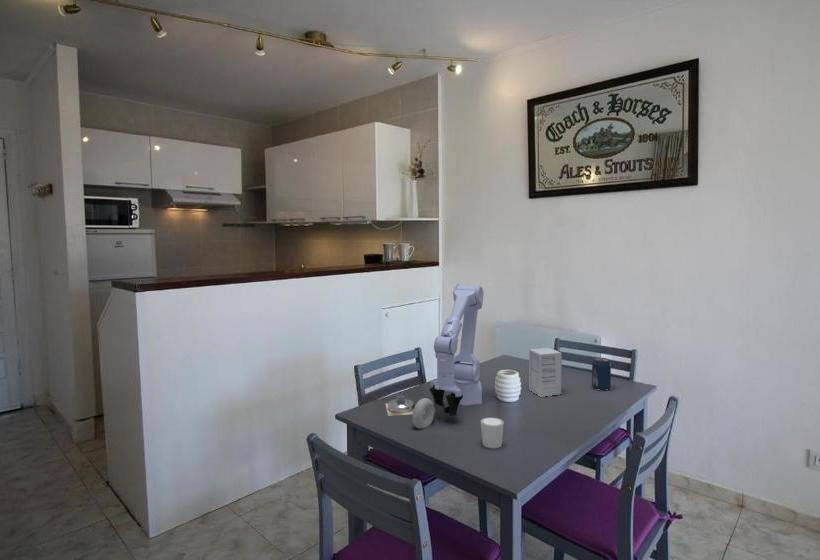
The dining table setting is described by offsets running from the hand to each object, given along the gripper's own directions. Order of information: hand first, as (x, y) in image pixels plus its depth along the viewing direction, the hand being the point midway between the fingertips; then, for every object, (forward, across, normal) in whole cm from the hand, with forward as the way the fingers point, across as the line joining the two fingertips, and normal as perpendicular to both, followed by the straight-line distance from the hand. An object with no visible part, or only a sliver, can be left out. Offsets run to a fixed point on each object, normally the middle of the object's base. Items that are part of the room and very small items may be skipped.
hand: (445, 411), depth 159 cm
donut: (+4, +1, -9) cm, 10 cm away
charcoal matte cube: (+3, 0, 0) cm, 3 cm away
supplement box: (+3, -1, +49) cm, 49 cm away
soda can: (+3, +8, +72) cm, 72 cm away
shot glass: (+4, +21, +1) cm, 22 cm away
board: (+3, -13, -2) cm, 14 cm away
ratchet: (+2, -13, -2) cm, 14 cm away
